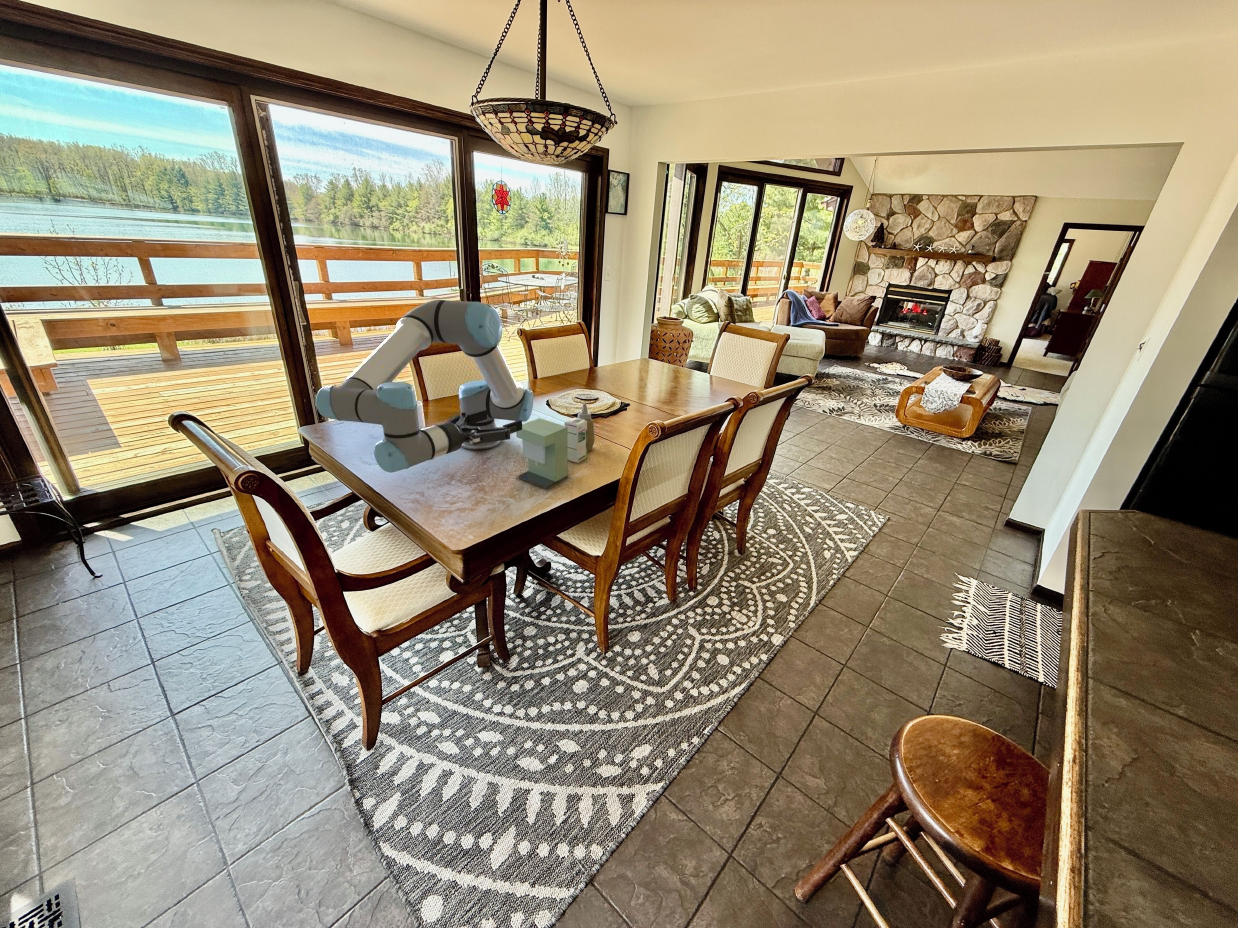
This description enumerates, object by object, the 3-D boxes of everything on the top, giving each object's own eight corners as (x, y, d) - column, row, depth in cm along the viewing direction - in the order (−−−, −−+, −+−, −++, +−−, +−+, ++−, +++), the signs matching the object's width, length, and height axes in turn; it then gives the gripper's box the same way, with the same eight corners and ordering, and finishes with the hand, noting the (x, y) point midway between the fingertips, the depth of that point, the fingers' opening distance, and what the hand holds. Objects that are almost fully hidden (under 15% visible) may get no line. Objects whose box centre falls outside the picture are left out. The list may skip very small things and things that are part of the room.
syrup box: (577, 463, 168) (578, 424, 162) (564, 459, 171) (564, 420, 165) (587, 458, 173) (587, 420, 166) (574, 453, 175) (574, 416, 169)
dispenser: (545, 489, 150) (544, 436, 142) (518, 478, 156) (515, 426, 148) (567, 477, 158) (567, 426, 150) (540, 467, 164) (539, 418, 156)
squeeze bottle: (591, 455, 175) (592, 408, 167) (570, 452, 176) (570, 405, 169) (596, 446, 182) (598, 401, 175) (576, 444, 184) (576, 399, 176)
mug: (389, 430, 187) (385, 405, 183) (400, 423, 194) (396, 399, 190) (419, 433, 186) (415, 408, 182) (429, 425, 194) (425, 401, 189)
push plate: (543, 464, 148) (543, 446, 146) (522, 456, 153) (522, 438, 150) (545, 463, 149) (545, 445, 146) (524, 455, 153) (524, 438, 151)
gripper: (410, 442, 125) (473, 422, 142) (476, 467, 113) (537, 442, 130) (406, 414, 122) (471, 397, 139) (474, 437, 110) (536, 415, 127)
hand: (503, 419), depth 134 cm, fingers open, 13 cm apart
